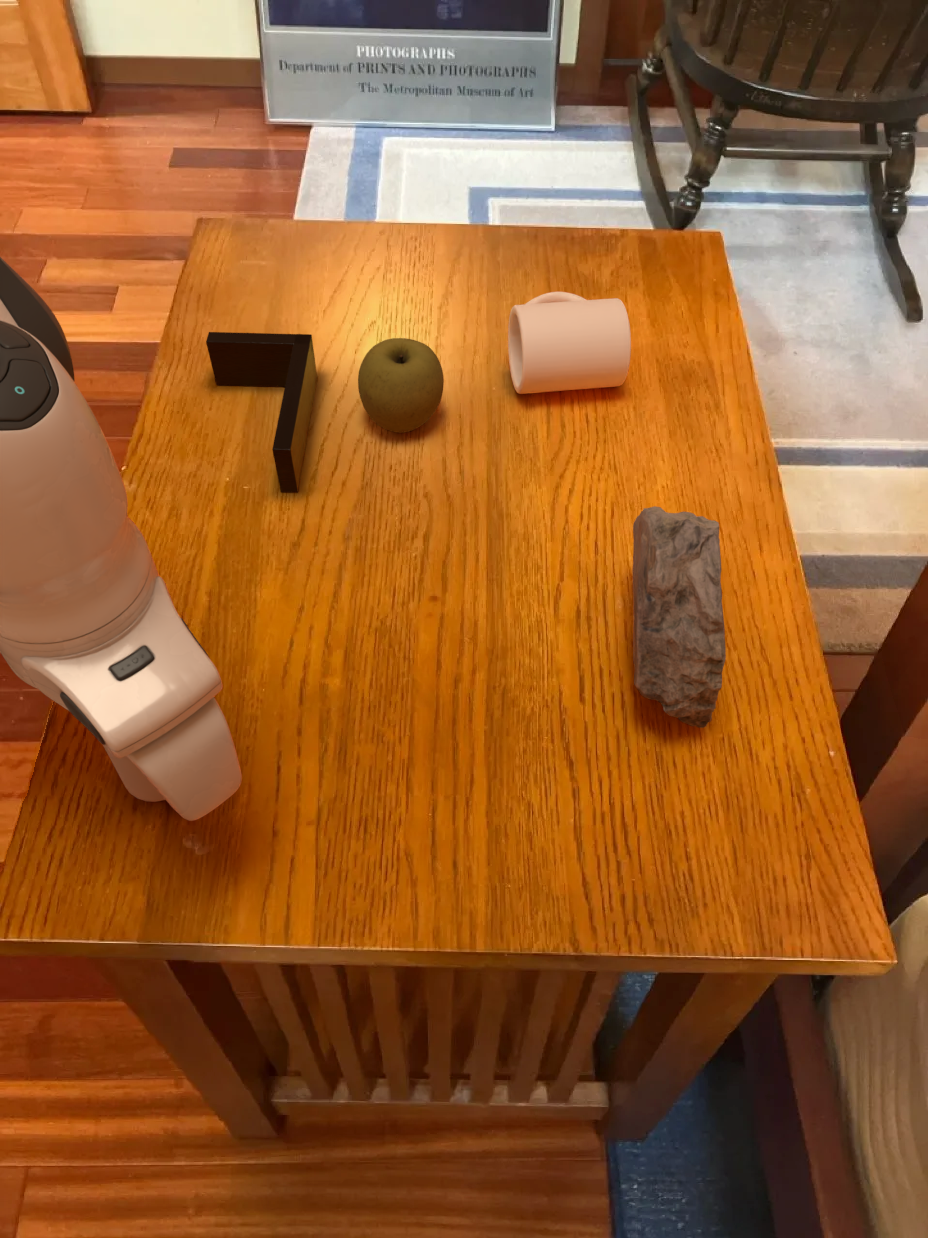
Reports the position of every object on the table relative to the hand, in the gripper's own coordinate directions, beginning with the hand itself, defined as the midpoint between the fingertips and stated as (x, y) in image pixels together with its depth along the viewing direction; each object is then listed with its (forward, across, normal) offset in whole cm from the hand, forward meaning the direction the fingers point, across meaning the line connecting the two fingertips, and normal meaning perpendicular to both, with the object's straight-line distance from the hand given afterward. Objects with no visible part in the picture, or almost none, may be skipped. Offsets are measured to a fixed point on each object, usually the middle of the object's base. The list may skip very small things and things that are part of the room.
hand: (146, 738), depth 60 cm
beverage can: (+5, 0, 0) cm, 5 cm away
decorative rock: (+5, +17, +33) cm, 37 cm away
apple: (+5, -17, +36) cm, 40 cm away
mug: (+5, -12, +53) cm, 54 cm away
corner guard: (+5, -24, +25) cm, 35 cm away
